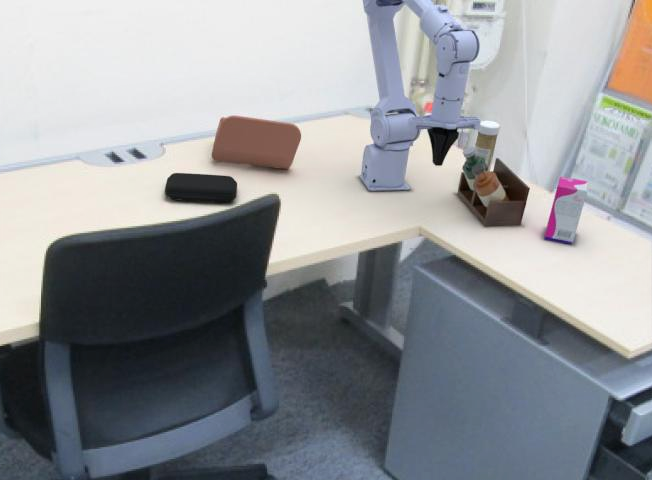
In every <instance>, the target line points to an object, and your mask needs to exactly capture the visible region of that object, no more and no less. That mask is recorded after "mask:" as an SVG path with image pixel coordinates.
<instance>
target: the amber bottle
mask: <svg viewBox="0 0 652 480" xmlns="http://www.w3.org/2000/svg"><path fill="white" fill-rule="evenodd" d="M472 172H473V174H474V175H475V176H476V178H475V181H474V183H473V187H474V189H475V191H476V193H477V195H478V196H479V198H480V200H481V202H482V204H483V205H484V207H485V208H486V210H487V208H488V204H489V201H509V198H508V196H507V194H506V192H505V190H504V188H503V187H502V185H501V183H500V181H499V179H498V178H497V176H496V174H495V173H494V172H489V171H485V167H484V165H483V164H481V163H480V164H477V165H475V166H474V167H473V168H472Z"/></svg>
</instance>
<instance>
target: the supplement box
mask: <svg viewBox="0 0 652 480" xmlns="http://www.w3.org/2000/svg"><path fill="white" fill-rule="evenodd" d="M588 188H589V181H587V180H581V179H578V178H577V179H576V178H570V177H564V176H560V177H559V180H558V183H557V186H556V190H555V193H554V198H553V201H552V206H551V209H550V213H549V217H548V220H547V224H546V229H545V233H544V237H543V239H544V240H547V241H553V242H557V243H561V244H562V243H563V244H567V245H573V244H574V240H575V237H576V234H577V230H578V226H579V223H580V219H581V215H582V211H583V208H584V204H585V201H586V197H587V195H588Z"/></svg>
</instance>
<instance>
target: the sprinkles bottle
mask: <svg viewBox="0 0 652 480" xmlns="http://www.w3.org/2000/svg"><path fill="white" fill-rule="evenodd" d="M500 128H501V125H500V124H499V123H498V122H496V121H492V120H481V123H480V128H479V130H477V137H476V142H475V145H474V149H475V151H476V156H480V157H483V158H485V160H486V163H487V166H488V168H489V171H491V170H492V165H493V159H494V153H495V148H496V144H497V138H498V135H499V133H500V130H501V129H500Z"/></svg>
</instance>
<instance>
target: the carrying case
mask: <svg viewBox="0 0 652 480" xmlns="http://www.w3.org/2000/svg"><path fill="white" fill-rule="evenodd" d="M164 194H165V195H166V196H167V198H168V199H170V200H173V201H185V202H200V203H202V202H203V203H205V202H206V203H219V204H220V203H221V204H226V203H227V204H228V203H229V204H230V203H232V202H233V201H234V200H235V199H236V198H237V196H238V195H237V194H238V182H237V181H236V180H235V178H234V177H233V176H231V175H224V174H223V175H222V174H207V173H185V172H173V173H172V174H170V176H168V177H167V179H166V183H165V187H164Z"/></svg>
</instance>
